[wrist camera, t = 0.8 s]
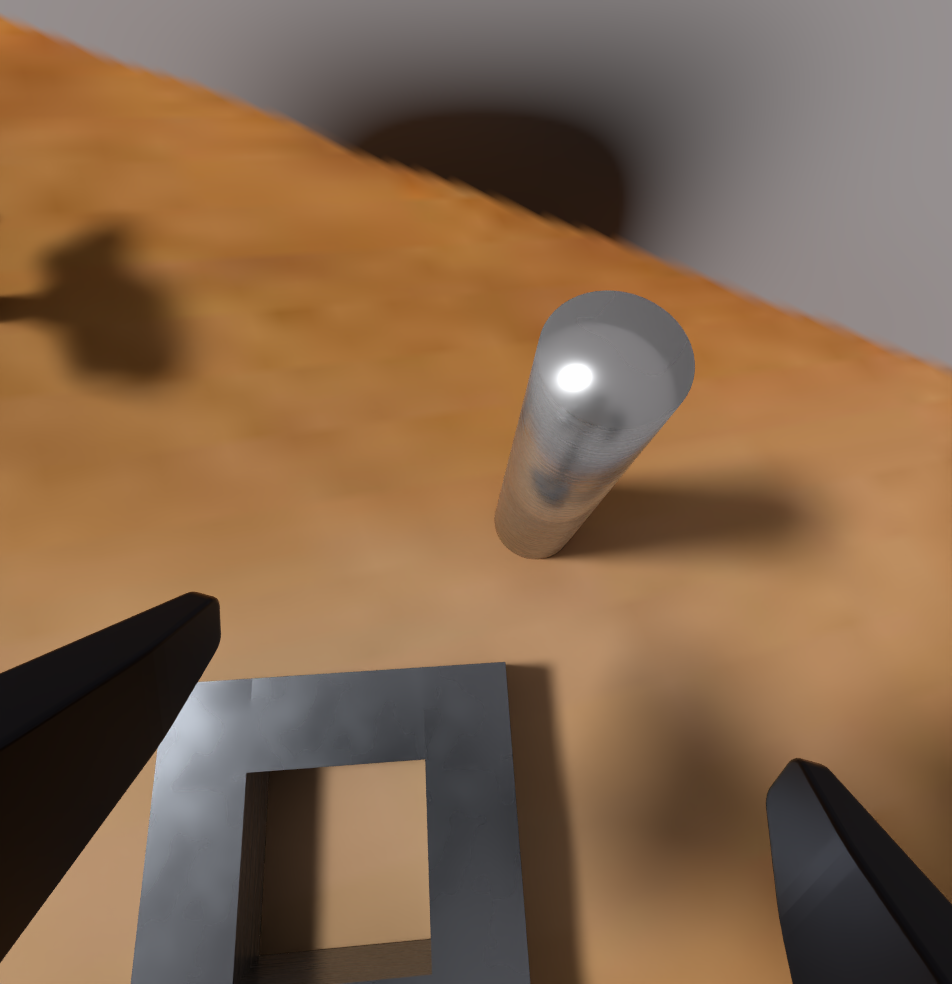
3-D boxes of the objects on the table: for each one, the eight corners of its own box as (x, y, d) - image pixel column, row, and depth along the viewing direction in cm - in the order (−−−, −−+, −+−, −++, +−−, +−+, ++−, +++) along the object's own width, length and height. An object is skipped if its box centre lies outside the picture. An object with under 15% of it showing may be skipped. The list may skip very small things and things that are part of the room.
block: (527, 1038, 18) (538, 1090, 16) (158, 1077, 18) (113, 1138, 15) (499, 664, 22) (505, 661, 20) (196, 684, 22) (164, 684, 19)
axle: (577, 556, 24) (709, 424, 12) (497, 561, 24) (546, 430, 12) (568, 481, 25) (678, 288, 13) (491, 485, 25) (530, 292, 13)
